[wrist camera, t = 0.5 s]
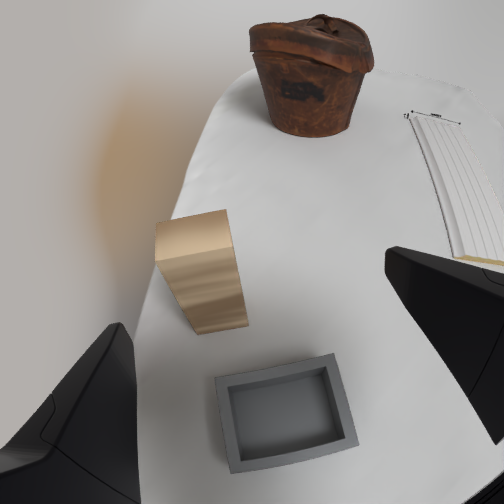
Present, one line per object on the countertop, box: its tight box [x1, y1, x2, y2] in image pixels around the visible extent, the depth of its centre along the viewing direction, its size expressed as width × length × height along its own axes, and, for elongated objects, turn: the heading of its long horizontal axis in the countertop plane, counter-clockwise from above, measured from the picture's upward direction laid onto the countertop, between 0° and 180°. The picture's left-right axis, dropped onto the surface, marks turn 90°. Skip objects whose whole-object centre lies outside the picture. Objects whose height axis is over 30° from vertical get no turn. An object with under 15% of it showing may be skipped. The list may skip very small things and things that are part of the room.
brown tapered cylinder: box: [249, 14, 374, 137], centre depth 39 cm, size 18×20×18 cm
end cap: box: [215, 353, 359, 474], centre depth 20 cm, size 7×9×3 cm
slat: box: [155, 209, 249, 335], centre depth 22 cm, size 3×4×11 cm, turn 100°
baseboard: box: [404, 110, 504, 266], centre depth 36 cm, size 31×3×12 cm
